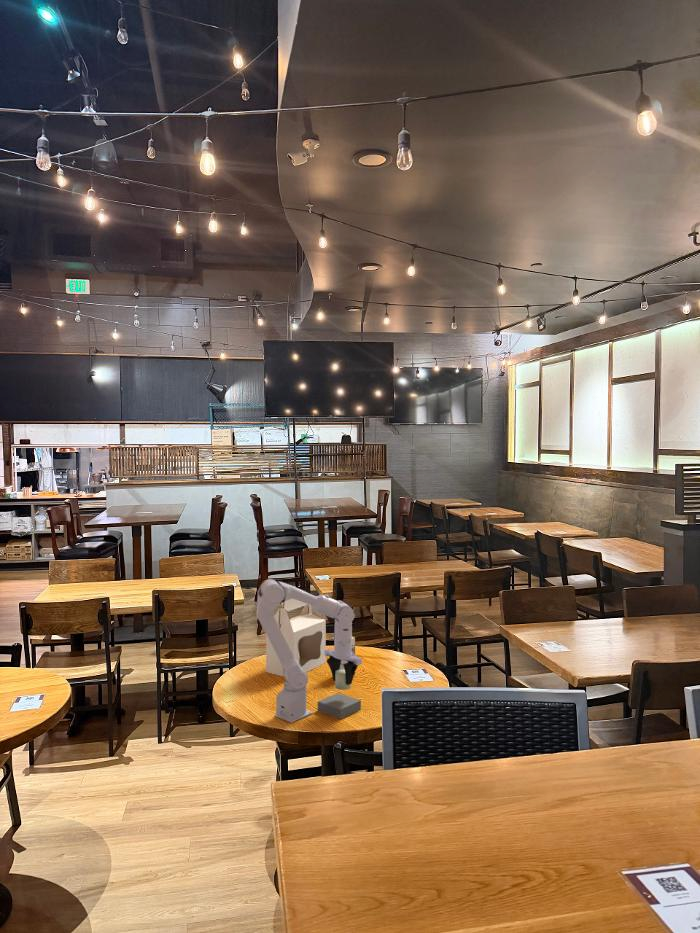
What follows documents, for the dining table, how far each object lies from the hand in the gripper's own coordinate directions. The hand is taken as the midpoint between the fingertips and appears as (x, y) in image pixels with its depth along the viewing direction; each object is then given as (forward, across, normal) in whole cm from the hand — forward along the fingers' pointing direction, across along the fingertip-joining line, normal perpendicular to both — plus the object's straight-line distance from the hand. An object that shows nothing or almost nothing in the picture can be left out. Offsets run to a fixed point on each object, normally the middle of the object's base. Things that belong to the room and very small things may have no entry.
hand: (342, 681), depth 202 cm
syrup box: (+9, +20, -25) cm, 33 cm away
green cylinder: (+2, 0, 0) cm, 2 cm away
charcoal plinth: (+9, 0, +2) cm, 9 cm away
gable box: (+9, +40, -19) cm, 45 cm away
